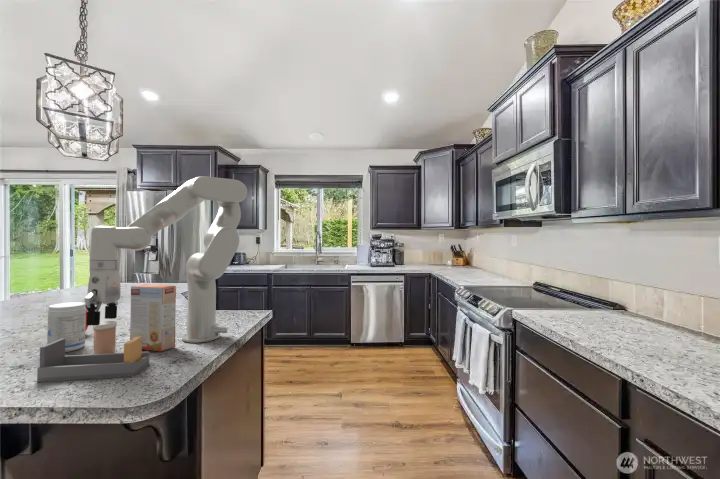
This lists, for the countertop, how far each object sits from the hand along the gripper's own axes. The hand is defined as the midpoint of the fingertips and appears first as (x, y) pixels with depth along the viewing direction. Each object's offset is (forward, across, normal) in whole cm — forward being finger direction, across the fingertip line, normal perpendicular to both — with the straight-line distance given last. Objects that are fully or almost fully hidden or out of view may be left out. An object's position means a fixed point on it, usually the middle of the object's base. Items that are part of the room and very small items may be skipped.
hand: (102, 321), depth 105 cm
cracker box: (+11, +8, -12) cm, 18 cm away
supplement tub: (+11, +11, +15) cm, 22 cm away
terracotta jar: (+11, +1, -1) cm, 11 cm away
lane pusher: (+9, -13, -15) cm, 22 cm away
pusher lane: (+11, -13, -6) cm, 18 cm away
